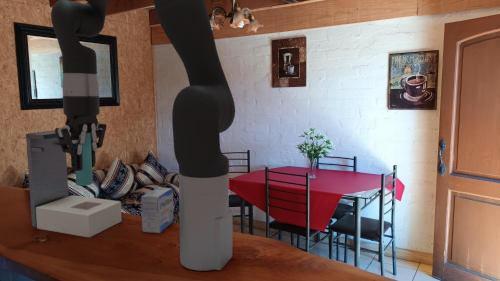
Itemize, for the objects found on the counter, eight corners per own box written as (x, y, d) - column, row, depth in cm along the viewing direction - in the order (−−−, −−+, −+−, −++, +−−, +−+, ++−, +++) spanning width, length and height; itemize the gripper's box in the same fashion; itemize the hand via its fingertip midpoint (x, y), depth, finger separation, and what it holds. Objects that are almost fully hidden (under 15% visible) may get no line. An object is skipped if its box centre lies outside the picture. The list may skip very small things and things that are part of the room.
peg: (95, 182, 89) (94, 132, 87) (84, 186, 86) (82, 134, 84) (84, 181, 90) (81, 131, 88) (72, 184, 87) (70, 133, 85)
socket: (121, 221, 93) (120, 201, 92) (89, 237, 82) (88, 215, 82) (73, 213, 98) (72, 195, 97) (37, 228, 87) (35, 207, 87)
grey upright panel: (81, 216, 96) (77, 130, 93) (49, 229, 87) (43, 134, 84) (65, 213, 98) (61, 129, 95) (32, 226, 88) (25, 133, 85)
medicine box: (159, 234, 85) (159, 196, 84) (141, 232, 86) (140, 195, 85) (173, 222, 93) (173, 188, 92) (156, 220, 94) (156, 186, 92)
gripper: (69, 94, 77) (73, 176, 80) (115, 94, 90) (117, 164, 93) (42, 94, 80) (46, 173, 82) (90, 93, 93) (92, 162, 95)
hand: (84, 168), depth 87 cm, fingers closed on peg, 3 cm apart
